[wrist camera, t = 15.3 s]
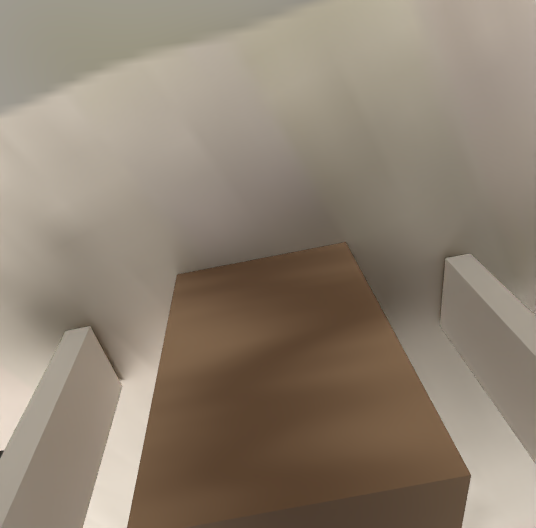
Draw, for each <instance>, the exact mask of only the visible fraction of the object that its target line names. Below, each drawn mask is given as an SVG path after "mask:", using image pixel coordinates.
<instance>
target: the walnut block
mask: <svg viewBox="0 0 536 528" xmlns="http://www.w3.org/2000/svg"><path fill="white" fill-rule="evenodd" d="M470 478H471V474H470V472H469V470H468V468H467V467H466V465H465V463H464V461H463V459H462V457H461V455H460V454H459V452H458V450H457V448H456V446H455V444H454V442H453V441H452V439H451V437H450V435H449V433H448V431H447V429H446V428H445V426H444V424H443V422H442V420H441V418H440V416H439V415H438V413H437V411H436V409H435V407H434V405H433V403H432V402H431V400H430V398H429V396H428V394H427V392H426V390H425V389H424V387H423V385H422V383H421V381H420V379H419V377H418V376H417V374H416V372H415V370H414V368H413V366H412V364H411V363H410V361H409V359H408V357H407V355H406V353H405V351H404V350H403V348H402V346H401V344H400V342H399V340H398V338H397V337H396V335H395V333H394V331H393V329H392V327H391V325H390V324H389V322H388V320H387V318H386V316H385V314H384V312H383V311H382V309H381V307H380V305H379V303H378V301H377V299H376V298H375V296H374V294H373V292H372V290H371V288H370V286H369V285H368V283H367V281H366V279H365V277H364V275H363V273H362V272H361V270H360V268H359V266H358V264H357V262H356V260H355V259H354V257H353V255H352V253H351V251H350V249H349V247H348V245H347V244H346V242H344V243H338V244H333V245H328V246H323V247H318V248H313V249H307V250H302V251H297V252H292V253H287V254H281V255H276V256H271V257H266V258H261V259H255V260H250V261H245V262H240V263H235V264H229V265H224V266H219V267H214V268H209V269H204V270H198V271H193V272H188V273H183V274H178V275H177V277H176V282H175V287H174V292H173V297H172V302H171V308H170V313H169V318H168V323H167V328H166V333H165V338H164V343H163V348H162V353H161V358H160V363H159V368H158V374H157V379H156V384H155V389H154V394H153V399H152V404H151V409H150V414H149V419H148V424H147V429H146V434H145V440H144V445H143V450H142V455H141V460H140V465H139V470H138V475H137V480H136V485H135V490H134V495H133V500H132V506H131V511H130V516H129V521H128V526H127V528H462V522H463V517H464V511H465V506H466V500H467V494H468V489H469V483H470Z"/></svg>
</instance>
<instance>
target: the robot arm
mask: <svg viewBox="0 0 536 528" xmlns="http://www.w3.org/2000/svg"><path fill="white" fill-rule="evenodd" d="M440 327H441V329H442V330H443V331H444V333H445V334H446V336H447V337H448V339H449V340H450V341H451V343H452V344H453V346H454V347H455V349H456V350H457V351H458V353H459V354H460V356H461V357H462V359H463V360H464V362H465V363H466V364H467V366H468V367H469V369H470V370H471V372H472V373H473V374H474V376H475V377H476V379H477V380H478V382H479V383H480V385H481V386H482V387H483V389H484V390H485V392H486V393H487V395H488V396H489V397H490V399H491V400H492V402H493V403H494V405H495V406H496V407H497V409H498V410H499V412H500V413H501V415H502V416H503V418H504V419H505V420H506V422H507V423H508V425H509V426H510V428H511V429H512V430H513V432H514V433H515V435H516V436H517V438H518V439H519V441H520V442H521V443H522V445H523V446H524V448H525V449H526V451H527V452H528V453H529V455H530V456H531V458H532V459H533V461H534V462H535V463H536V316H535V315H534V314H533V313H532V312H531V311H530V310H529V309H528V308H527V307H526V306H525V305H524V304H523V303H522V302H521V301H519V300H518V299H517V298H516V297H515V296H514V295H513V294H512V293H511V292H510V291H509V290H508V289H507V288H506V287H505V286H504V285H503V284H502V283H501V282H500V281H499V280H498V279H497V278H495V277H494V276H493V275H492V274H491V273H490V272H489V271H488V270H487V269H486V268H485V267H484V266H483V265H482V264H481V263H480V262H479V261H478V260H477V259H476V258H475V257H474V256H473V255H471V254H465V255H459V256H454V257H449V258H445V270H444V282H443V294H442V307H441V319H440ZM121 390H122V385H121V383H120V381H119V379H118V377H117V375H116V373H115V371H114V370H113V368H112V366H111V364H110V362H109V360H108V358H107V357H106V355H105V353H104V351H103V349H102V347H101V345H100V343H99V342H98V340H97V338H96V336H95V334H94V332H93V330H92V329H91V327H90V326H88V327H83V328H78V329H72V330H67V331H65V333H64V335H63V337H62V339H61V341H60V343H59V345H58V347H57V349H56V351H55V353H54V355H53V357H52V359H51V361H50V363H49V365H48V366H47V368H46V370H45V372H44V374H43V376H42V378H41V380H40V382H39V384H38V386H37V388H36V390H35V392H34V394H33V396H32V398H31V400H30V402H29V403H28V405H27V407H26V409H25V411H24V413H23V415H22V417H21V419H20V421H19V423H18V425H17V427H16V429H15V431H14V433H13V435H12V437H11V438H10V440H9V442H8V444H7V446H6V448H5V450H3V451H0V528H83V524H84V521H85V517H86V514H87V510H88V507H89V503H90V500H91V496H92V492H93V489H94V485H95V482H96V478H97V475H98V471H99V468H100V464H101V460H102V457H103V453H104V450H105V446H106V443H107V439H108V436H109V432H110V429H111V425H112V421H113V418H114V414H115V411H116V407H117V404H118V400H119V397H120V393H121Z"/></svg>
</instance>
